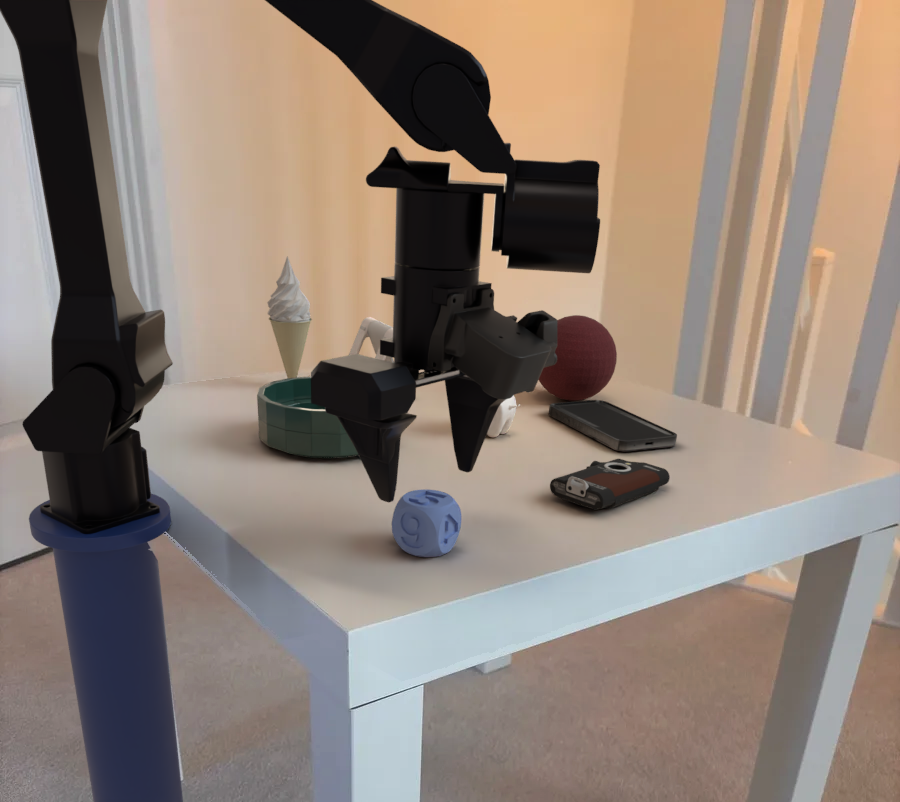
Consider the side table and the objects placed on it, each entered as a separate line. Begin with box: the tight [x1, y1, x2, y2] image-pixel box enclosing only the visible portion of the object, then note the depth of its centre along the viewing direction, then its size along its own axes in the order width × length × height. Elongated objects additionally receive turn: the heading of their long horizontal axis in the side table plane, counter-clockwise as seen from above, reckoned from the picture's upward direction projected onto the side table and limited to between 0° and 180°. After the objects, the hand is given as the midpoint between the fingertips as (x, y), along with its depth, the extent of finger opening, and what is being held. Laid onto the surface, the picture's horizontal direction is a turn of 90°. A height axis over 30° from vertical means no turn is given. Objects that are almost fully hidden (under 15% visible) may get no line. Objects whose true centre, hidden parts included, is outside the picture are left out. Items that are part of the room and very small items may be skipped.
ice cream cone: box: [266, 256, 313, 379], centre depth 107 cm, size 5×5×15 cm
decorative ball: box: [538, 314, 618, 402], centre depth 110 cm, size 10×10×10 cm
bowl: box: [256, 375, 359, 459], centre depth 91 cm, size 13×13×5 cm
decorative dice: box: [391, 488, 462, 558], centre depth 69 cm, size 4×4×4 cm
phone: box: [548, 399, 678, 453], centre depth 101 cm, size 8×1×15 cm
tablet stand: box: [348, 316, 394, 363], centre depth 107 cm, size 9×8×8 cm
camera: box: [549, 458, 671, 511], centre depth 83 cm, size 6×3×11 cm
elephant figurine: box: [486, 395, 521, 438], centre depth 97 cm, size 7×8×6 cm
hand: (427, 485), depth 68 cm, fingers open, 9 cm apart
